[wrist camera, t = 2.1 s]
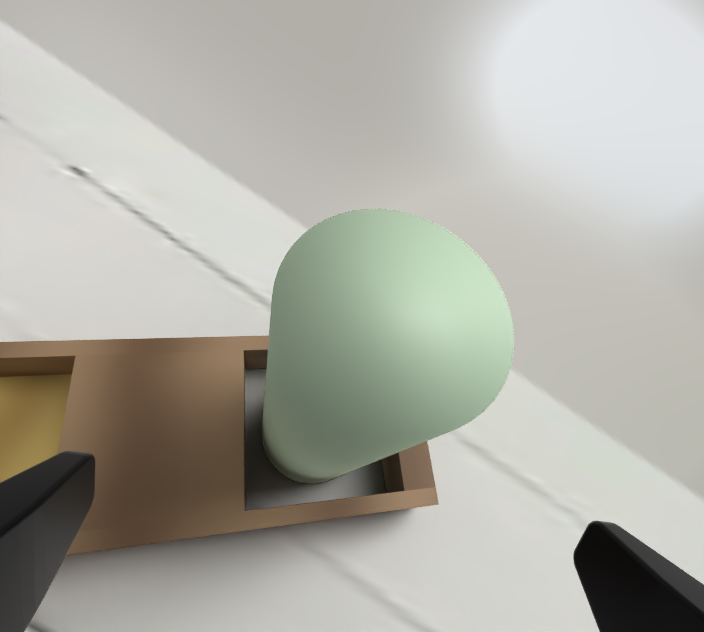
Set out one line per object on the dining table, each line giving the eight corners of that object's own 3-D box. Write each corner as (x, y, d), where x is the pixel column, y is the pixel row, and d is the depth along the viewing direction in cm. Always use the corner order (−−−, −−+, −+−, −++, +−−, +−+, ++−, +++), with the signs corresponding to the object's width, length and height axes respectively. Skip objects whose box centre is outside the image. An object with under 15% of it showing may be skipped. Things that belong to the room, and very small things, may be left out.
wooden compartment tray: (391, 351, 20) (407, 332, 18) (416, 505, 17) (438, 504, 15) (-108, 368, 15) (-167, 346, 13) (-189, 586, 12) (-281, 602, 10)
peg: (299, 507, 16) (383, 501, 6) (241, 417, 17) (219, 268, 7) (381, 440, 18) (558, 343, 7) (324, 363, 19) (409, 180, 8)
